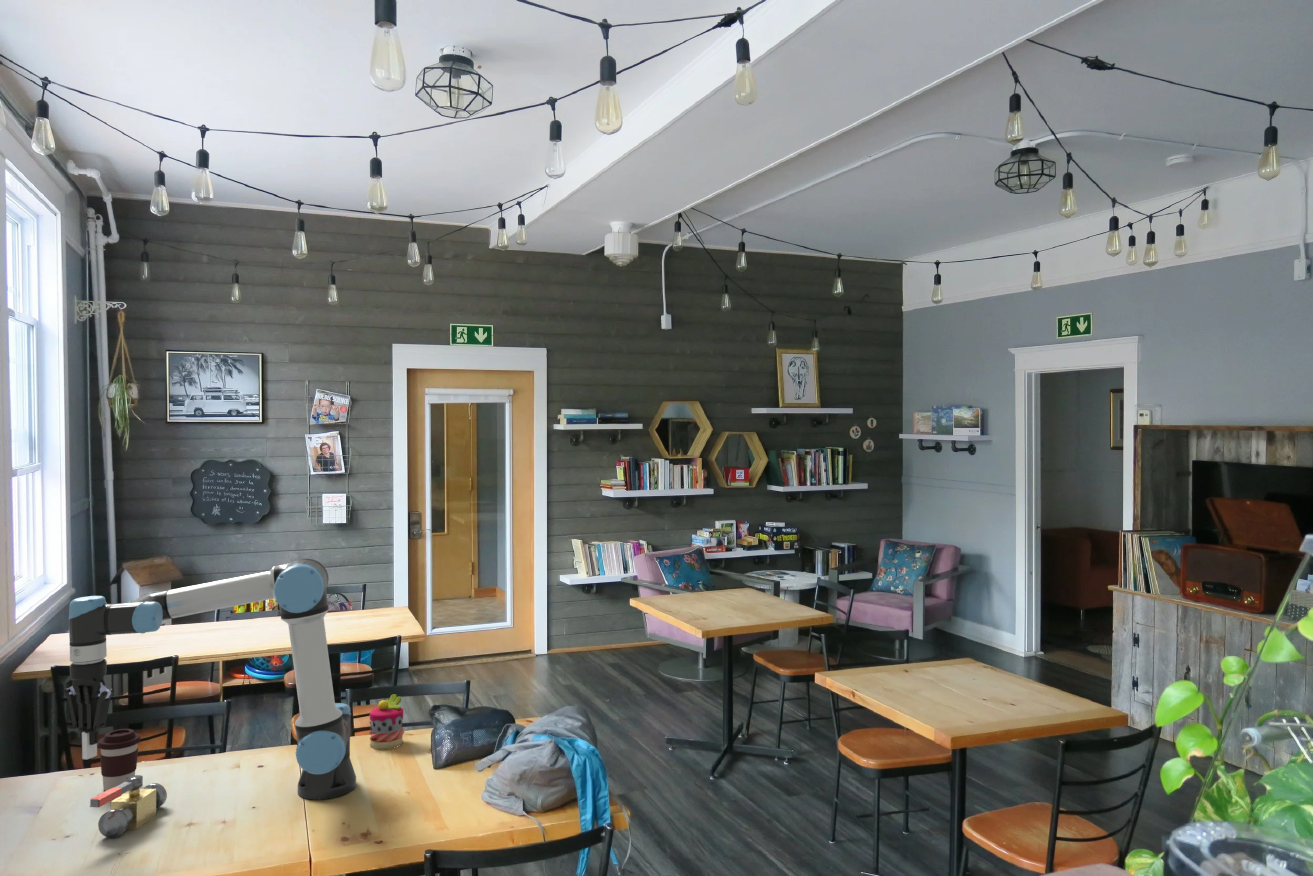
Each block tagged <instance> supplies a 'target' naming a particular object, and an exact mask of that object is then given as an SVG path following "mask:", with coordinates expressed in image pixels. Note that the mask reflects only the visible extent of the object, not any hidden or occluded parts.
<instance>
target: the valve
mask: <svg viewBox="0 0 1313 876" xmlns="http://www.w3.org/2000/svg"><path fill="white" fill-rule="evenodd" d="M167 798H168V793H167V790H166V788H165V786H164V785H162V784H160V783H157V782H152V783H149V784H147V785H146V786H145V787H143V788H141V787H140V788H137V789H132V790H129V791H127V792H125V793H124V794H122V796H120V797H118V798H116V799H114V800H112V801H111V803H110V809H109V810H107V811H106V812H104V813H103V814H101V816H100V817H99V820H98V825H97V826H98V831H99V833H100V834H101V835H102V836H103V837H104V838H108V839H115V838H117V837H119V836H121V835H123V834H124V833H125V832H126V831H127V830H138V829H139V828H141V827H142V826H144V825H145V824H146V823H148V822H149V821H151V820H152V819H153V818H155V817H156V816H157V810H158V809H159V808H160V807H162V806H163V805H164V804H165V803H166V801H167Z"/></svg>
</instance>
